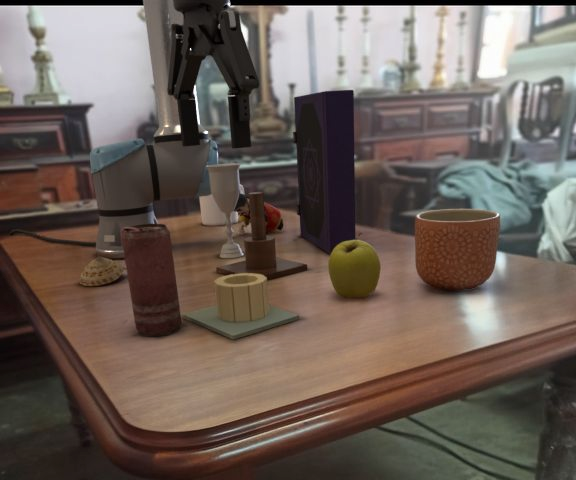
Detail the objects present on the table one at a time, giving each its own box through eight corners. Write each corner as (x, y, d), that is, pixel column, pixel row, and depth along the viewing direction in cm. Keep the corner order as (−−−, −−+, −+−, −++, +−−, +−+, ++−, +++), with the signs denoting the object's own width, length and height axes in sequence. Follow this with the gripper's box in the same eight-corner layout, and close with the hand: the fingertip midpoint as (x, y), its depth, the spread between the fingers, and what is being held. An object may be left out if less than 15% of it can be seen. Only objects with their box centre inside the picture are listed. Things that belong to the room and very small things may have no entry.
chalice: (242, 259, 118) (234, 165, 111) (210, 259, 119) (200, 167, 113) (251, 251, 125) (244, 162, 118) (221, 251, 126) (212, 164, 119)
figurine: (256, 246, 149) (208, 225, 139) (267, 210, 149) (220, 186, 139) (280, 247, 142) (231, 225, 132) (291, 209, 142) (243, 184, 132)
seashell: (135, 262, 110) (110, 254, 103) (133, 292, 110) (107, 286, 103) (98, 261, 113) (71, 253, 105) (96, 290, 113) (68, 285, 105)
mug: (207, 227, 157) (203, 187, 153) (198, 222, 165) (194, 184, 162) (251, 221, 161) (248, 183, 157) (240, 217, 170) (237, 180, 166)
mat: (183, 318, 84) (182, 314, 84) (245, 300, 91) (245, 297, 90) (233, 339, 75) (233, 335, 75) (299, 319, 81) (299, 315, 81)
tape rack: (216, 272, 109) (208, 195, 104) (268, 260, 116) (263, 187, 111) (254, 283, 100) (247, 199, 95) (307, 269, 107) (304, 190, 102)
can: (138, 324, 83) (122, 224, 78) (183, 320, 83) (170, 221, 78) (131, 339, 77) (113, 232, 72) (179, 335, 78) (165, 228, 72)
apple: (356, 277, 96) (366, 220, 90) (384, 302, 90) (396, 243, 84) (314, 285, 93) (321, 227, 87) (340, 312, 87) (349, 252, 81)
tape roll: (208, 314, 83) (204, 280, 81) (250, 303, 87) (247, 270, 85) (236, 325, 78) (232, 289, 76) (279, 313, 82) (276, 278, 80)
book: (357, 252, 118) (355, 89, 107) (327, 255, 117) (322, 91, 106) (323, 233, 140) (319, 95, 129) (298, 235, 138) (291, 97, 127)
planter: (450, 301, 85) (454, 225, 81) (397, 283, 95) (398, 215, 91) (513, 286, 90) (519, 214, 86) (456, 271, 100) (459, 206, 96)
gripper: (131, -10, 84) (152, 146, 92) (227, -48, 66) (242, 151, 74) (178, -7, 88) (193, 143, 96) (280, -42, 70) (288, 146, 78)
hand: (215, 146), depth 85 cm, fingers open, 13 cm apart
